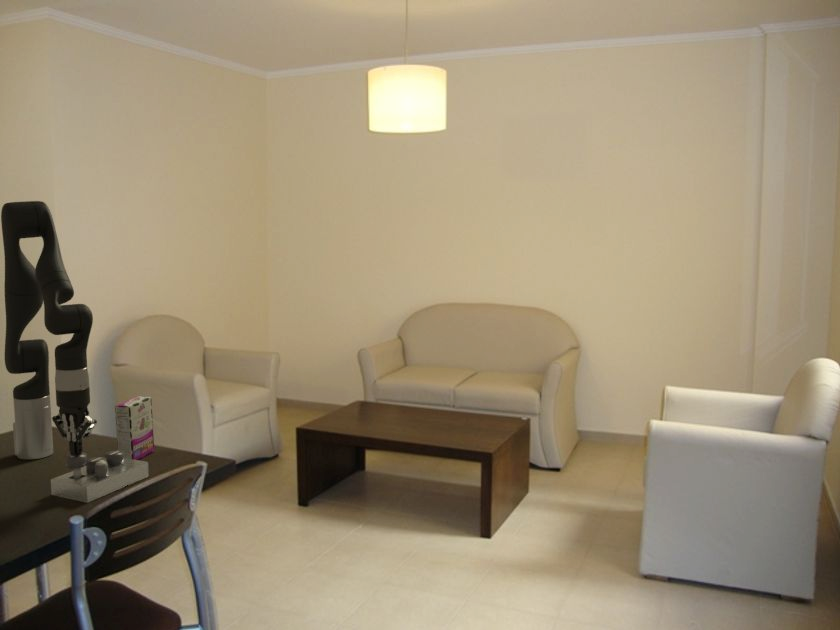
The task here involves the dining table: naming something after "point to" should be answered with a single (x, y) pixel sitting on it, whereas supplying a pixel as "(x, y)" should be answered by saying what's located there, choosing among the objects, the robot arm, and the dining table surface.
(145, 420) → the candy bar box
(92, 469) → the knob
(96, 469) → the pot post
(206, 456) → the dining table surface
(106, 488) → the mount
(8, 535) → the dining table surface
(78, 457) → the knob
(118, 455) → the knob
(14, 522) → the dining table surface
